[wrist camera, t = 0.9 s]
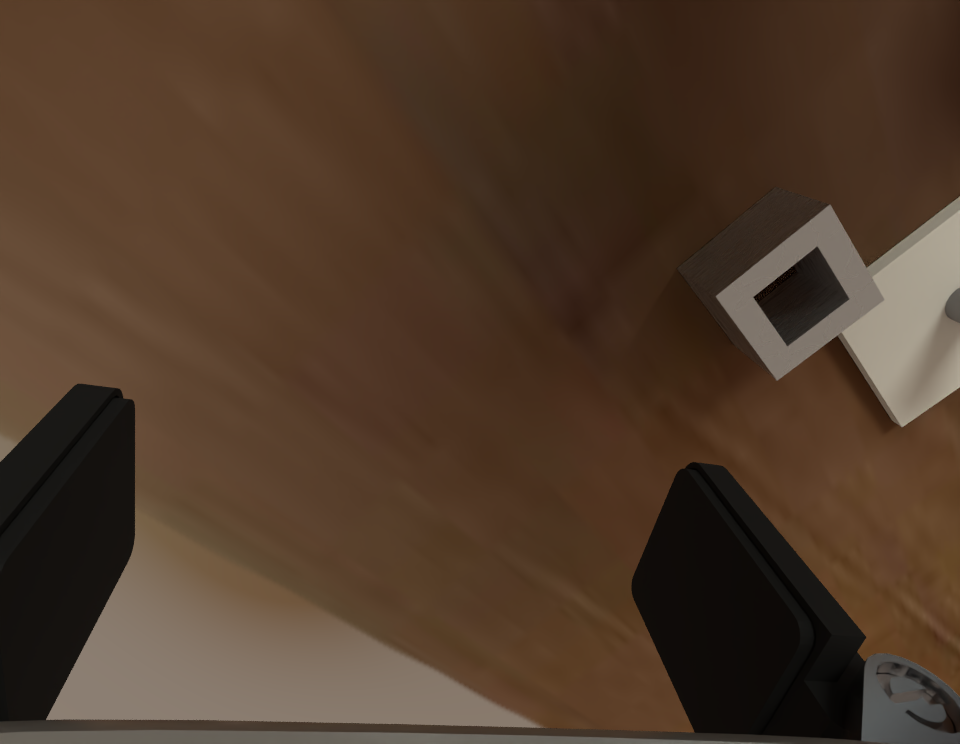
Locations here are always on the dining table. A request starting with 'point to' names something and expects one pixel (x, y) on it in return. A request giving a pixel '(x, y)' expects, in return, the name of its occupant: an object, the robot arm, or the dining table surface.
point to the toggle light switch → (913, 320)
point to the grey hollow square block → (797, 301)
